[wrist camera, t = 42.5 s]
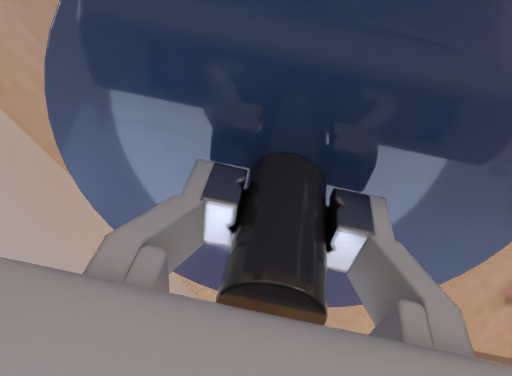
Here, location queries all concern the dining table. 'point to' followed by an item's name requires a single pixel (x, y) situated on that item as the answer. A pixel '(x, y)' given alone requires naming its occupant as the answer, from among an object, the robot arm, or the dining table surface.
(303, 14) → the lid
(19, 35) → the dining table surface
